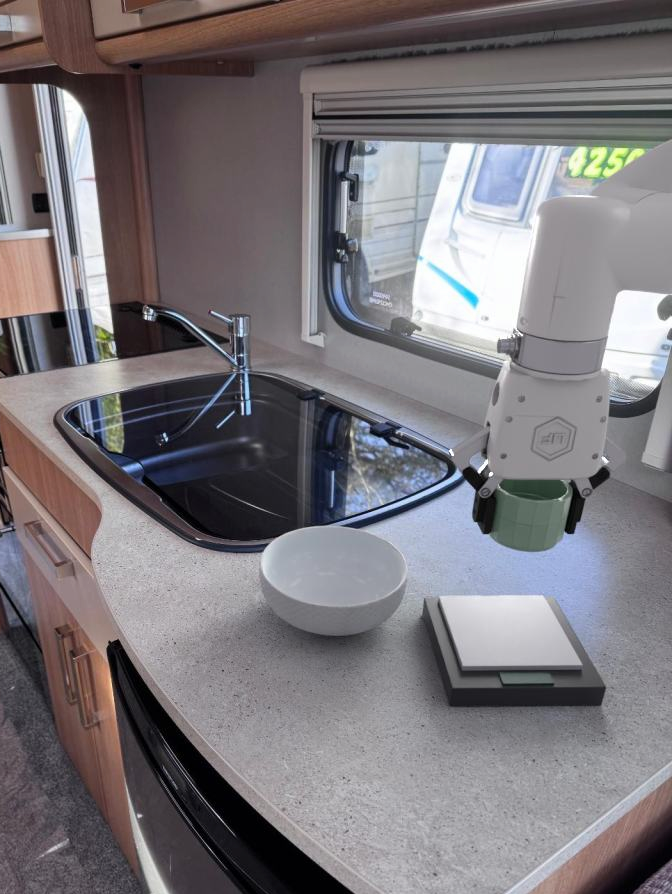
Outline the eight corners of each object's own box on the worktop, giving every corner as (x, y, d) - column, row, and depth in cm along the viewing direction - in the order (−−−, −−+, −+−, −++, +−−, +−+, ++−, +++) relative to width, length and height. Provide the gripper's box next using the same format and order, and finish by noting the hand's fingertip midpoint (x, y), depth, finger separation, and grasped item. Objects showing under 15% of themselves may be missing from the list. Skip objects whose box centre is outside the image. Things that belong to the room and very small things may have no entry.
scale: (550, 613, 84) (555, 592, 83) (601, 705, 71) (608, 682, 70) (422, 614, 84) (424, 593, 82) (449, 707, 71) (453, 683, 69)
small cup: (547, 516, 75) (557, 468, 72) (572, 554, 68) (584, 502, 66) (476, 516, 75) (483, 468, 72) (495, 554, 68) (504, 502, 66)
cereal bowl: (394, 671, 75) (400, 616, 72) (241, 646, 79) (239, 593, 75) (410, 582, 90) (415, 532, 86) (280, 564, 93) (280, 516, 90)
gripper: (467, 364, 59) (443, 547, 68) (677, 365, 60) (627, 547, 68) (448, 339, 66) (428, 509, 74) (637, 340, 66) (596, 509, 75)
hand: (524, 526), depth 71 cm, fingers closed on small cup, 7 cm apart
